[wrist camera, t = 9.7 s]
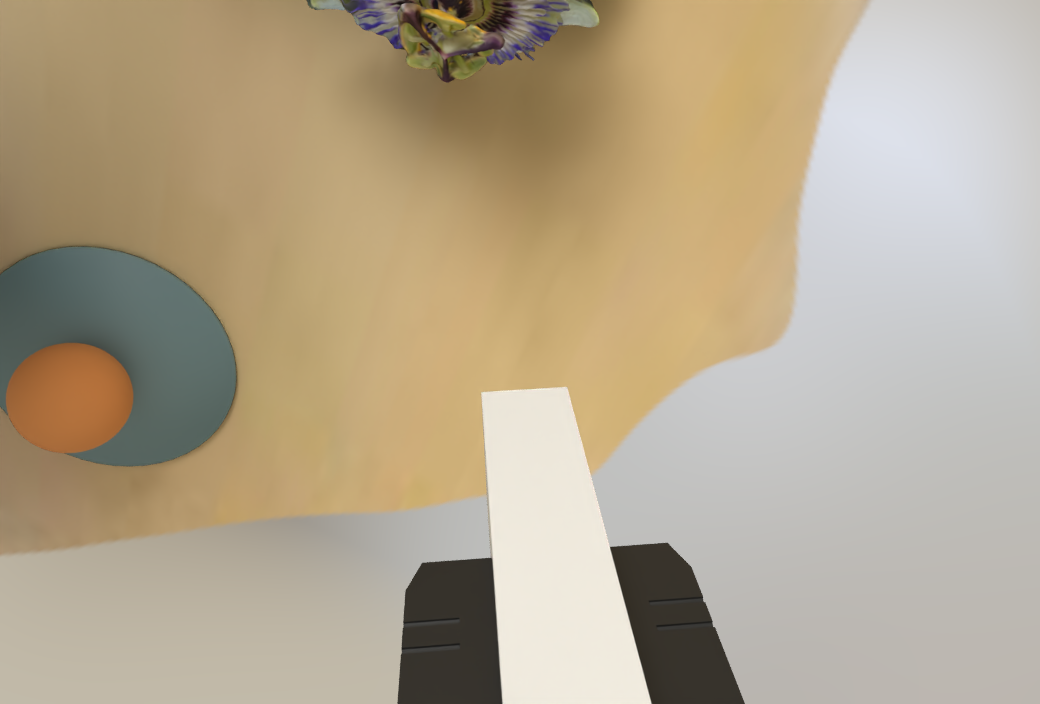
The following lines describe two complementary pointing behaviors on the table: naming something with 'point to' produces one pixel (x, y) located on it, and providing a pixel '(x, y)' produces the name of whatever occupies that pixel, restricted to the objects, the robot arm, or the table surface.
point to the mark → (125, 343)
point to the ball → (69, 397)
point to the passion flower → (464, 28)
